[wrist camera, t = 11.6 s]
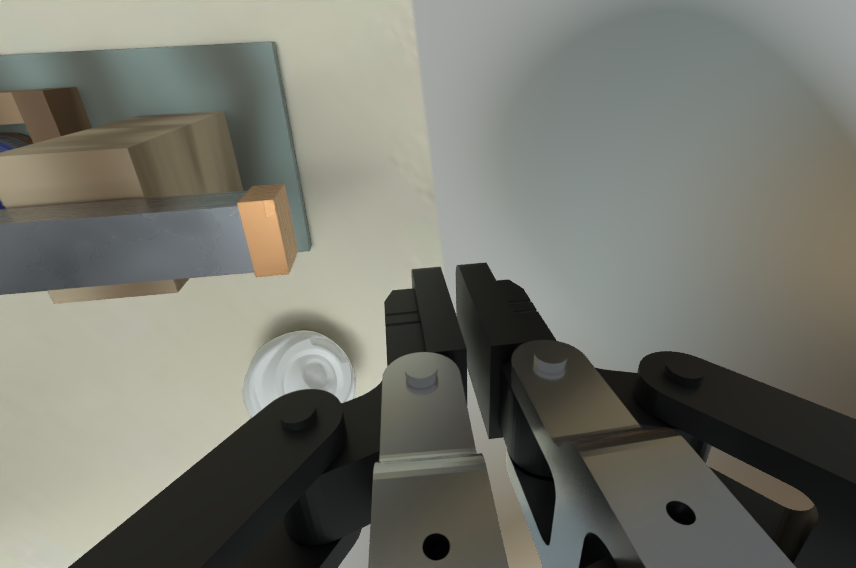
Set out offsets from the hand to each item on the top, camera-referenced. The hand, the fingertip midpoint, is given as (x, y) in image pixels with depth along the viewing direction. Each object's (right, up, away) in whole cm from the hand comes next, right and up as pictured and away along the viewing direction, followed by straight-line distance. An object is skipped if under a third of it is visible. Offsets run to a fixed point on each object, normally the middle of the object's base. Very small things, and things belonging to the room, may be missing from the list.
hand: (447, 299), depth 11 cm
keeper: (-11, +2, +6) cm, 13 cm away
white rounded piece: (-10, -5, +25) cm, 28 cm away
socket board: (-20, +8, +17) cm, 28 cm away
